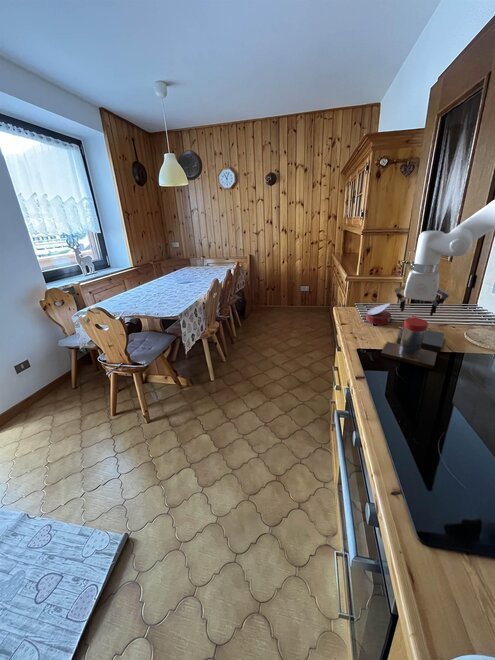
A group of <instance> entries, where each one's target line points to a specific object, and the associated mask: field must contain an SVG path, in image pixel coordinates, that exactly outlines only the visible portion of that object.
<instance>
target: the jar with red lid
mask: <svg viewBox="0 0 495 660" xmlns="http://www.w3.org/2000/svg"><path fill="white" fill-rule="evenodd" d="M403 326H404V329H403V334H402V338H401V343H400V348H399V353H400V354H402V355H404V356H406V357H412V358H413V357H418V356H419V355H420V351H421V347H422V343H423V339H424V335H425V332H426V330H428V326H429V323H428V321H427V320H425V319H423V318H419V317H417V318H411V317H407V318H405V319H404V323H403Z"/></svg>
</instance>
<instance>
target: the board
mask: <svg viewBox="0 0 495 660" xmlns="http://www.w3.org/2000/svg"><path fill="white" fill-rule="evenodd" d="M399 348H400V344H397V343H395V342H391V341H386V343H385V345H384V346H383V348H382V351H381V353H380V357H383V358H387V359H391V360H394V361H399V362H403V363H407V364H411V365H415V366H418V367H423V368H427V369H430V370H434V369H435V368H434V367H435V364H436V359H437V355H438V352H433V351H429V350H424V349H421V351H420V355H419V356H418V357H413V358H412V357H406V356H404V355H402V354H400V353H399Z"/></svg>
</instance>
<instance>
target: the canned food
mask: <svg viewBox="0 0 495 660" xmlns="http://www.w3.org/2000/svg"><path fill="white" fill-rule="evenodd" d="M390 305H391V303H390V302H389V303H385V304H380V305H377V306H374V307H372V308H370V309H369V310H367V311H366V317H365V321H367V322H369V323H371V324H374V325H379V326H380V325H381V326H382V325H387V324H390V322H391V318H392V313H391V312H389V311H387V310H385V309H387V308H388V307H390Z"/></svg>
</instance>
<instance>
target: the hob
mask: <svg viewBox="0 0 495 660" xmlns="http://www.w3.org/2000/svg"><path fill="white" fill-rule="evenodd" d="M398 328H399V329H401V330H400V332H399V334H398V337H397V341H396V344H400V343H401V338H402V334H403V329H404V325H403V326H398ZM444 339H445V332H443V331H442V332H441V331H436V330H433V329H426V332H425V335H424V339H423V343H422V347H421V349H422V350H427V351H431V352H436V353H437V354H441V351H442V348H443V343H444Z"/></svg>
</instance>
